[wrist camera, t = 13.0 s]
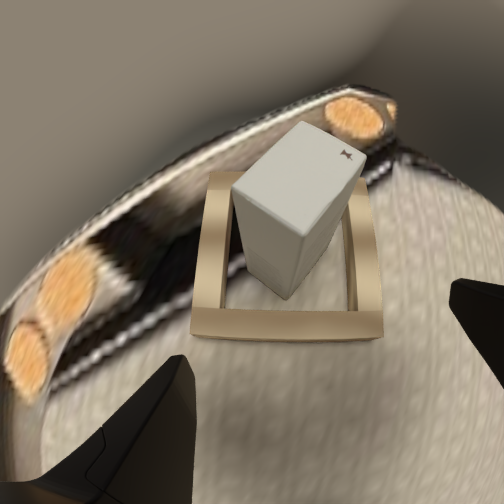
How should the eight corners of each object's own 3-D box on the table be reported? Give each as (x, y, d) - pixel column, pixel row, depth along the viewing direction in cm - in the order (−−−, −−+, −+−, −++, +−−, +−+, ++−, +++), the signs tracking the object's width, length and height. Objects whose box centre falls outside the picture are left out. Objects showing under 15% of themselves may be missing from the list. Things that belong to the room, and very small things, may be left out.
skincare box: (288, 221, 25) (302, 116, 14) (327, 248, 24) (371, 154, 13) (244, 272, 23) (226, 184, 12) (285, 303, 22) (307, 239, 11)
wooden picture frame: (371, 340, 20) (383, 336, 18) (197, 337, 21) (189, 333, 19) (357, 193, 26) (364, 178, 23) (214, 187, 27) (210, 172, 24)
